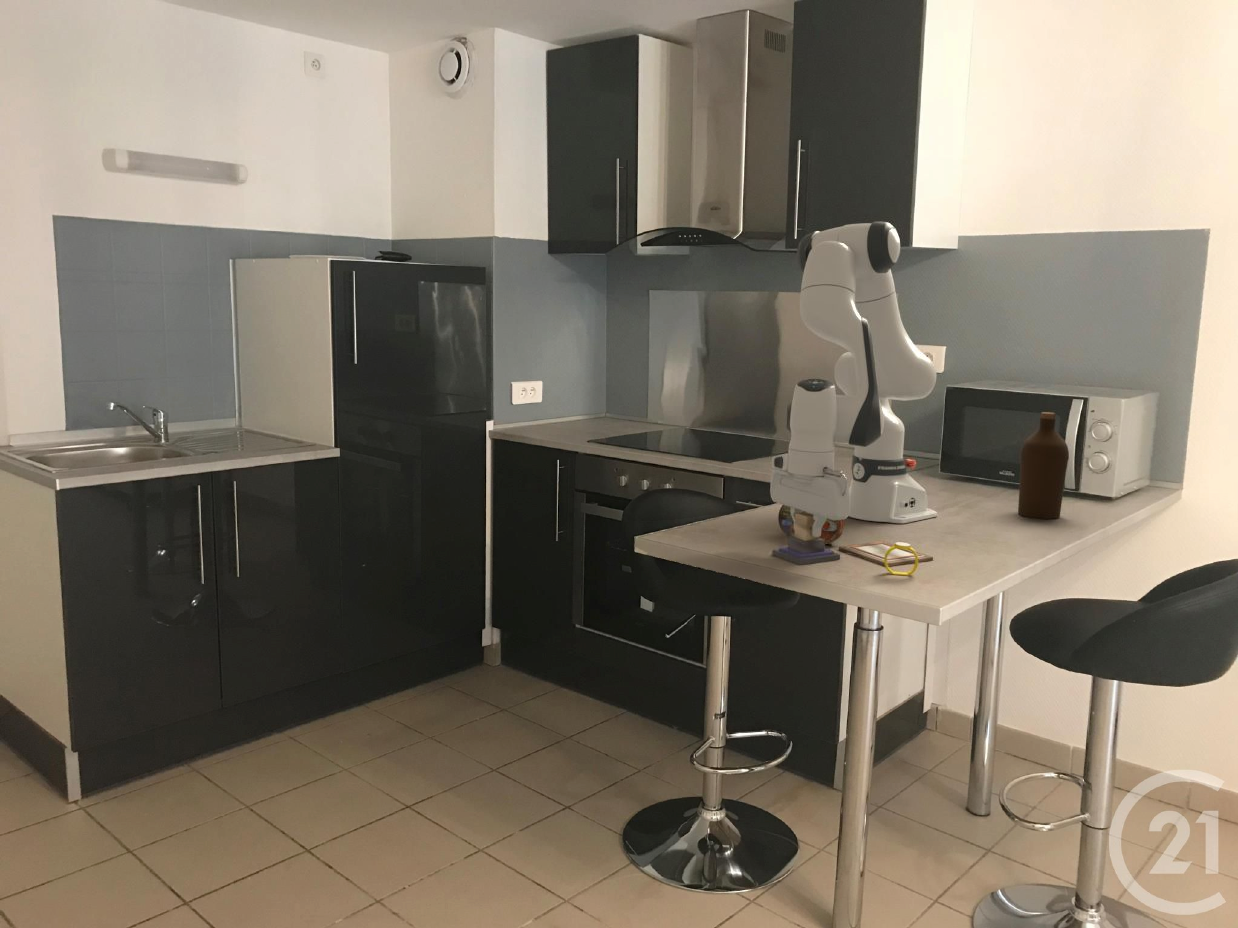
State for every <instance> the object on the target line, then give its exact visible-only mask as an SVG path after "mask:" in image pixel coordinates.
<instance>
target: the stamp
mask: <svg viewBox="0 0 1238 928" xmlns="http://www.w3.org/2000/svg"><path fill="white" fill-rule="evenodd" d="M814 522H815V520H814V519H813V514H812V513H808V512H802V513H796V514H795V533H794V536H789V537H788V536H787V537H788V538H787V539H788V543H787V547H788V548H790V549H792V550H795V551H798V552H801V553H803V554H806V553H814V552H822V551H824V549H825V545H826V544H825V540H824V539H821V538H819V537H814V536H811V535H810V534H809V532H810V530H809V528H810V527H812V526H813V524H814Z"/></svg>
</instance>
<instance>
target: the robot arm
mask: <svg viewBox="0 0 1238 928" xmlns="http://www.w3.org/2000/svg"><path fill="white" fill-rule="evenodd" d="M900 254H901V241H900V237H899V232H898V231H897V228H896V227H894V226H893V225H892V224H891V223H889V222H887V221H873V222H869V223H866V222H865V223H851V224H845V225H843V226H839V227H838V226H837V227H834V228H830V229H825V230H823V231H822V230H821V231H820V230H816V231H813V232H811V233H810V232H809V233H808V234H806V235H804V236H803V237H802V239H801V240H800V241H799V243H798V245H797V250H796V260H797V265H798V266H797V267H798V268H799V271H800V273H801V274H802V280H801V288H800V295H799V315H800V319H801V320H802V323H803V324H804V326H805V327H806V328H807V330H809V332H811V333H813V334H814V335H815V336H817V337H819V338H821V339H823V340H825V341H828V342H831V343H833V344H835V345H838V346H840V347H841V348H843V349H844V350H846V351H848V352H844V353H843V354H842V355H840V357H839V358H838V360H837V361H836V363H835V366H834V371H833V372H834V373H833V374H834V380H835V383H836V385H837V387H838V389H840V390H841V391H842V392H843V393H844V395H843V394H837V392H836V385H835V384H834V383H833V382H832V381H829V380H826V379H821V378H807V379H802V380H800V381H798V382H797V383H796V384H795V386H794V391H793V397H792V401H790V403H789V404H788V405H787V412H786V431H788V432H789V434H790V435H791V437H790V441H789V443H788V444H789V445H788V452H786V453H783V454H778V455H775V456H772V457H771V466H772V468H773V469H772V471H771V477H770V488H769V489H770V490H769V491H770V498H771V500H772V501H773V502H774V503H777V504H780V505H786V506H789V507H791V509H790V513H791V515H792V518H793V521H794V530H795V514H796V513H802V512H803V511H805V512H808V513H812V514H813V519H814V520H815V522H814V524H813V526H812V527H810V528H809V530H810V532H809V534H810V535H811V536H814V537H819V536H821V528H822V527H823V525H824V523H825V521H826V518H828V519H831V520H843V521H844V520H847V518H848V517H850V518H852V519H858V520H862V521H870V522H871V521H872V522H883V523H884V522H885V523H892V524H907V523H908V524H909V523H912V522H917V521H921V520H926V519H931V518H935V517H938V512H937V511H936V510H934V509H931V508H929V507H928V496H927V491H926V489H925V488H924V487H922V486H921V485H920V484H919V483H918V482H917V481H916V480H914V478H913V477H912V476H910V474H908V468H910V469H915V467H917V466H916V465H917V462H916V460H915V459H910V458H907V459H905V458H904V457H903V456H904V445H905V444H904V443H905V425H904V423H903V421H902V420H901V419H900V417H898V416H896V414H895V413H894V412H893V410H892V408H891V406H890V401H889V400H894V401H895V400H897V401H902V402H903V401H915V400H920V399H921V400H922V399H924V398H926V397H927V396H929V395H930V394H931V393H932V392H933V390H934V388H935V386H936V383H937V377H938V375H937V369H936V366H935V363H934V362H933V361H932V359H930V358H929V357H928V356H927V355H925V354H924V353H923V352H922V351H920V350H919V348H918V347H917V346H916V345H915V344H914V342H913V341H912V339H911V338H910V335H908V333H907V331H906V329H905V327H904V324H903V321H902V318H901V313H900V307H899V304H898V299H897V294H896V287H895V282H894V277H893V273H892V270H891V269H893V268H894V267H895V265H896V264H897V263H898V261H899V258H900ZM835 444H844V445H845V444H848V445H850V446H854V454H853V455H852V457H851V458H852V460H851V473H852V474H851V475H852V476H851V481H850V486H849V485H848V479H847V477H846V475H845V474H844V473H843V471H841V470H836V469H835V453H836V446H835Z"/></svg>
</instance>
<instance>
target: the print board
mask: <svg viewBox="0 0 1238 928" xmlns="http://www.w3.org/2000/svg"><path fill="white" fill-rule="evenodd" d="M894 545H895V544H893V543H889V542H887V541H884V540H883V541H876V542H867V543H865V542H864V543H858V544H852V545H842V546H838V547H837V548H838V549H837V550H838V551H840V552H844V553H847V554H850V555H852V556H856V557H858V558H861V559H864V560H866V561H869V562H873V563H876V564H878V565H881V566H884V567H886V566H885V563H884V558H885V554H886V552H887V551H888V549H889V548H890V547H892V546H894ZM915 552H916V554H917V556H918V563H922V562H929V561H930V562H931V561H934V557H933V556H930V555H928V554H924V553H920V552H918V551H915ZM915 563H916V559H915V555H914V554H913V552H912V551H910V550H909V549H899V548H896V549H894V550H892V551H891V552H890V553H889V555H888V556H887V565H888V567H894V566H900V565H907V564H908V565H909V564H915Z"/></svg>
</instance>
